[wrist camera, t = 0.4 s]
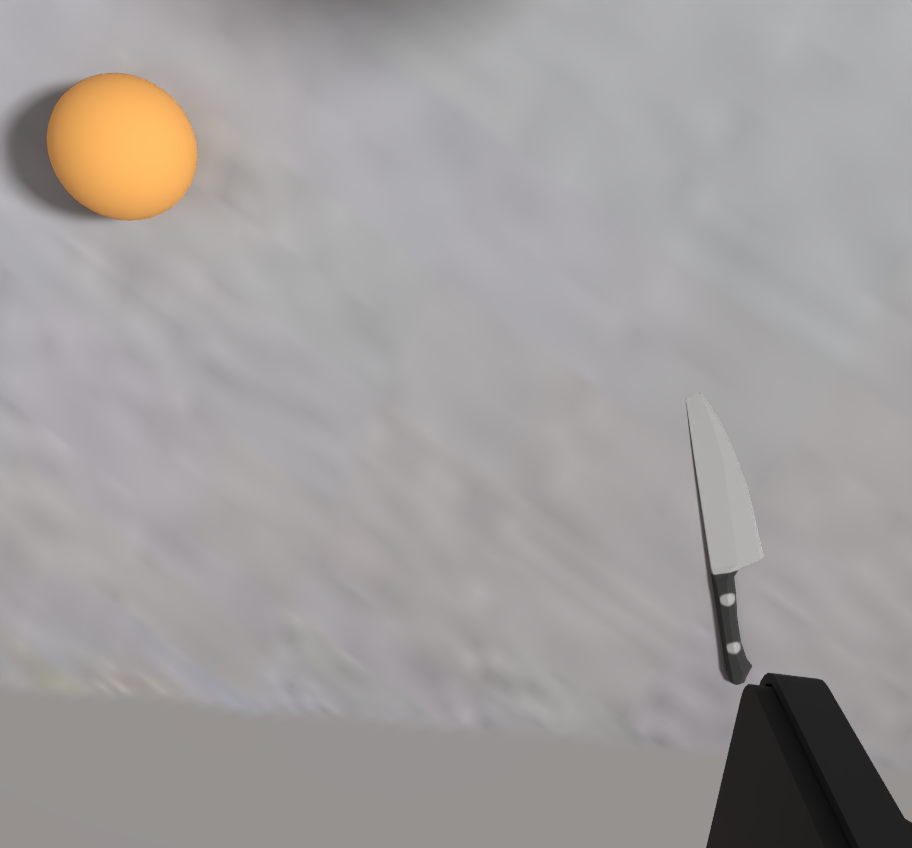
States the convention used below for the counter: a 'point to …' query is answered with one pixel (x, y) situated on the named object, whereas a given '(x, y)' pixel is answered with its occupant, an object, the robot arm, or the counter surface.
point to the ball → (122, 146)
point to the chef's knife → (723, 523)
